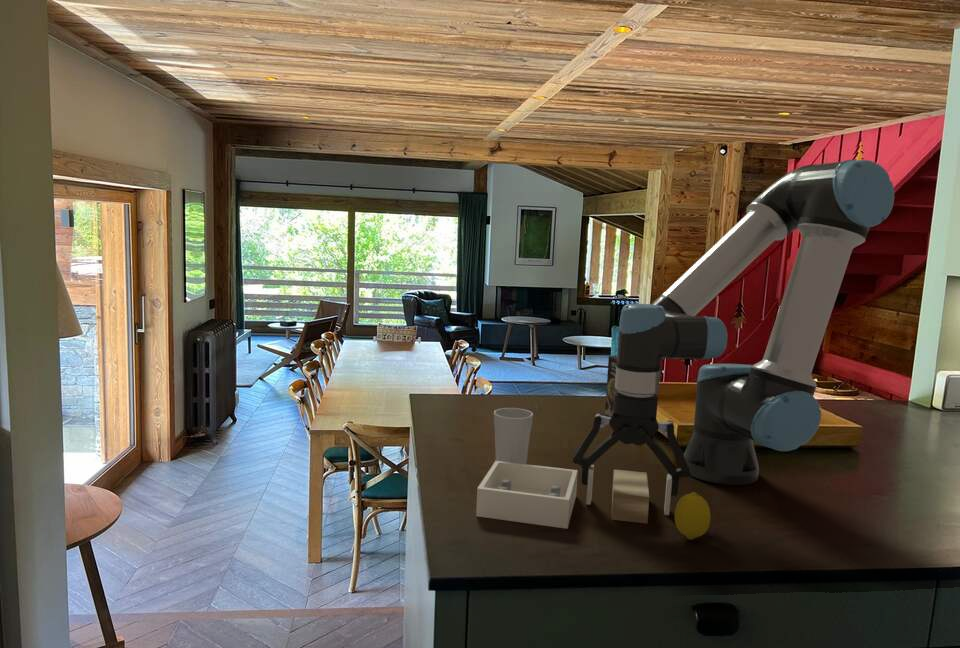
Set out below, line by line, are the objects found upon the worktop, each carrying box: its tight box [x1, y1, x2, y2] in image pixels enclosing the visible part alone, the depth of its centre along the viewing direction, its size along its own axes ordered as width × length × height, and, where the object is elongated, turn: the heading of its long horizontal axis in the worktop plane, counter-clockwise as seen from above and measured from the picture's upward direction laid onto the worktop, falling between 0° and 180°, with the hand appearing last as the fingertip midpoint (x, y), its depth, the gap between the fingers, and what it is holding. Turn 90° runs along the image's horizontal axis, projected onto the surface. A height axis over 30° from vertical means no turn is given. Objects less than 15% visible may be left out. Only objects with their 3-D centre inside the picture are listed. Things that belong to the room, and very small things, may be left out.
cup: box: [493, 407, 534, 464], centre depth 138 cm, size 8×8×12 cm
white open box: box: [475, 460, 579, 530], centre depth 121 cm, size 16×15×5 cm
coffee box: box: [604, 355, 617, 418], centre depth 180 cm, size 9×6×16 cm
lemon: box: [674, 491, 711, 541], centre depth 109 cm, size 6×6×8 cm
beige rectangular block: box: [611, 469, 650, 524], centre depth 122 cm, size 12×6×5 cm, turn 169°
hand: (627, 507), depth 122 cm, fingers open, 13 cm apart
